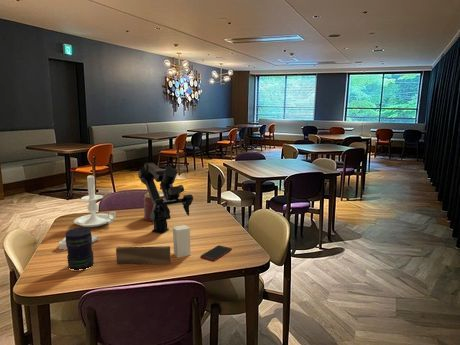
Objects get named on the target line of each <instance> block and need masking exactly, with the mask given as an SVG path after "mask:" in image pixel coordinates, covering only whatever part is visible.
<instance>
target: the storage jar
mask: <svg viewBox="0 0 460 345" xmlns="http://www.w3.org/2000/svg"><path fill="white" fill-rule="evenodd" d="M64 234H65V235H64V236H65V237H66V246H67V249H68V250H67V257H66V259H67V265H68V269H69V268H70V269H74V270H79V269H86V268H89V267H91V266H93V267H94V265H95V262H94V261H95V260H94V251H93V247H92V245H93V243H92V235H93V234H92V229H91V228H90V227H77V228H76V227H75V228H72V229H70V230H66V232H65V233H64ZM91 234H92V235H91ZM93 264H94V265H93ZM91 268H92V267H91Z"/></svg>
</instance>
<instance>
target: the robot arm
mask: <svg viewBox="0 0 460 345" xmlns="http://www.w3.org/2000/svg"><path fill="white" fill-rule="evenodd" d="M137 176H138V178H139V179H140V181H141V183H142V184H143V185H145V187H146V190H147V193H148V192H149V195H150V198H151V200H152V203H153V209H152V213H151V215H150V217H151V220H152V221H151V222H153V229H152V230H151V232H153V233H159V234H163V233H165V232H167V231H169V230H170V228H168V221H167V220H171V214H170V213H171V210H170V208H169V206H170V205H171V206H172V205H178V204H182V207H183V209H184V211H185V213H186V215H187V216H190V206H191V205H192V203H193V200H194V196H193V194H184V195H183V197H182V198H180V196H181V195H180V194H182V193H183V192H185V187H184V185H183V184H179V185H177V186H176V185H175V186H174V185H173V184H175V181H176V178H177V176H178V171H177V170H176V169H175V168H172V167H171V166H166V168H161V167H159V166H158V165H156V164H155V163H154V162H145V163H144V165H143V166H142V167H141V168H139V170H138V174H137ZM155 182H156V183H159V189H160V190H161V192H162V193H163V194H164V196H163V197H164V198H165V199H166V200H165V201H164V199H161V198H160V196H159V193H158V191H160V190H158V188H157V186H156V183H155Z"/></svg>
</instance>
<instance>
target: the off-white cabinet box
mask: <svg viewBox="0 0 460 345" xmlns="http://www.w3.org/2000/svg"><path fill="white" fill-rule="evenodd" d="M172 235H173V236H172V237H173V241H172V242H173V254H174V256H175V257H176V258H178V259H179V258H183V257H188V256H191V254H192V253H191V252H192V251H191V228H190V227H189V226H188V225H187V224H184V225H183V224H182V225H176V226H173V227H172Z"/></svg>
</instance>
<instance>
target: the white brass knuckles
mask: <svg viewBox="0 0 460 345" xmlns="http://www.w3.org/2000/svg"><path fill="white" fill-rule="evenodd" d="M91 235H92V244H93V243H95V242H97V241H99V239H100V237H99V236H98V235H96V234H93V233H91ZM58 249H59V250H60V249H67V246H66V236H65V237H64V238H62V240H60V241H59V242H58Z"/></svg>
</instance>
